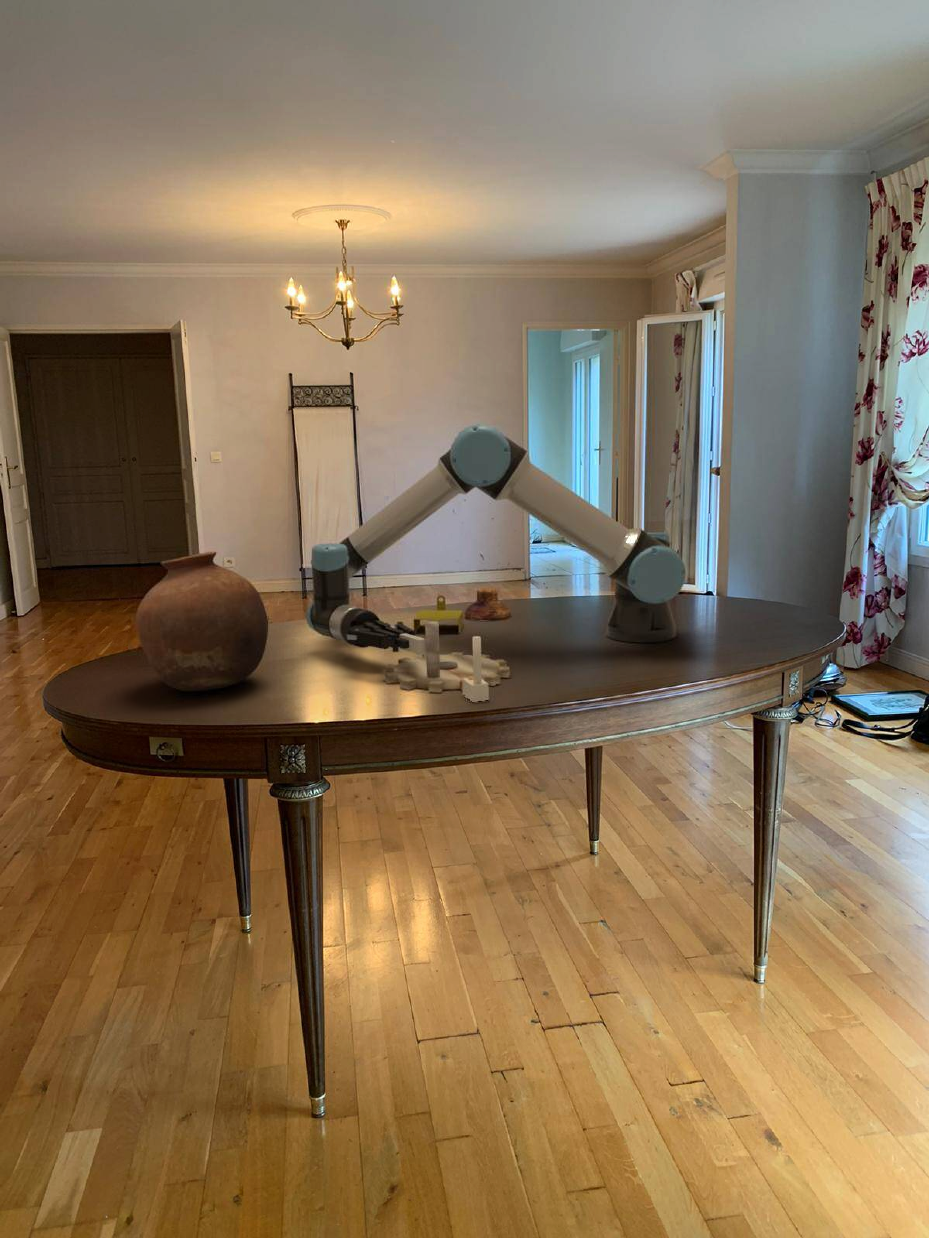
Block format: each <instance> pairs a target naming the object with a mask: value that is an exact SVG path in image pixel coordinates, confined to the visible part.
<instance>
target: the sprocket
mask: <svg viewBox="0 0 929 1238" xmlns="http://www.w3.org/2000/svg"><path fill="white" fill-rule="evenodd" d="M439 623H440V622H439ZM439 623H438V622H430V621H426V622H424V624H425V625H424V627H425V629H424V631H425V633H424V634H425V645H426V654H422V656H420V657H415V658H411V657H402V658H399V659H397V661H398V662H397V664H387V665H386V666H385V667H384V669H385V673H384V674H385V676H384V677H385V682H386V683H388V684H395V683H399V689H402V690H403V689H404V690H407V691H410V690H412V689H417V688H418V689H424V690H426V689H427V690H428V693H442V692H443V690H461V691H462V692H463V686H462V678H468V677H469V676H473V654H472V655H471V654H464V652H463V651H462V652H461V651H457V652H455V651H454V652H453V651H452V652H451V653H450V654H449V653H448V654H440V633H439V632H440V629H439V628H440V626H439V625H440V624H439ZM507 663H508V662H507V661H506V660H504V659H503V658H501V659H491V655H489V654H482V653H481V674H482V679H483V680H484V681H485V682H487V683H488V686H490V687H491V686H492V687H493V686H496V684H497V685H499V684H501V679H502V678H504V679H505V678H507V679H508V678H509V677H510V675H511V672H510V671H511V670H510V668H511V666H508V665H507Z"/></svg>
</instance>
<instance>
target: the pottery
mask: <svg viewBox="0 0 929 1238" xmlns="http://www.w3.org/2000/svg"><path fill="white" fill-rule="evenodd" d="M216 555H217V551H215V550H214V551H207V552H203V553H202V552H201V553H195V554H192V555H187V556H183V557H177V558H175V559H169V560H163V561H161V562H160V564H161V565H162V567H163V568H165V569H166V570H167V574H166V575H165V576H164V577H163V578H162V579H161V580H160V581H159V582H157V583H156V584H155V585H154V586H153V587H152V588H150V590H149V591H148V592H147V593H146V594H145V596H144V597H143V599H142V600H141V602H140V603H139V606H138V608H137V611H136V614H135V624H136V631H137V635H138V639H139V642H140V644H141V646H142V650H143V652H144V654H145V656H146V659H147V660H148V662H149V664H150V666H151V668H152V669H153V670H154V672H155V673H156V675H157V676H158V677H159V678H160V680H161V681H162V682H164V683H165V684H166V685H168V686H169V687H171V688H173V689H174V690H175V689H176V690H178V691H183V692H203V691H210V690H217V689H223V688H226V687H230V686H233V685H236V684H237V683H240V682H241V681H243V680H245V679H247V678H248V677H249V676H250V675H252V674H253V673H254V672H255V671H256V669H257V668H258V666H259V665H260V664H261V661H262V660H263V656H264V654H265V650H266V645H267V640H268V634H269V618H268V615H267V611H266V607H265V604H264V602H263V600H262V598H261V595H260V593H259V591H258V590H257V589H256V588H255V586H254V585H253V584H252V583H251V582H250V581H249V579H247V578H245V577H243V576H242V575H240V574H239V573H238V572H236V571H233V570H231V569H229V568H227V567H223V566H221V565H218V564H216V563H215V561H214V558H215V557H216ZM257 591H258V592H257Z"/></svg>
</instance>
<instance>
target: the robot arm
mask: <svg viewBox="0 0 929 1238" xmlns="http://www.w3.org/2000/svg"><path fill="white" fill-rule="evenodd" d="M450 446H451V447H450V449H449V450H447V452H445V453H444V454H443V455H442V456H441V457H440V456H439V458H438V461H437V466H436V467H434V468H433V469H431V470H430V471H429V472H428V473H426V474H425V475H424V476H423V477H421V478H420V479H419V480H417V482H415V483H413V484H412V485H411V486H410V487H408V489H406V490H405V491H404V492H402V493H401V494H400V495H398V496H397V497H396V498H395V499H393V500H392V501H391V502H390V503H388V504H387V505H386V506H384V507H383V508H382V509H381V510H380V511H378V512H377V513H376V514H375V515H373V516H372V517H371V518H370V519H368V520H367V521H366V522H363V524H362V525H360V526H359V527H358V528H357V529H356V530H354V531H352V533H351V534H349V535H348V536H347V537H346V538H344V539H343V540H342V541H341V542H339V543H337V542H336V543H332V542H330V543H329V542H328V543H320V544H315V545H313V547H312V548H311V560H310V565H311V577H312V591H313V592H312V593H313V595H312V597H313V598H312V602H311V603H310V604H309V605H308V607H307V610H306V613H305V621H306V623H307V624H308V627H309V628H311V630H313V631H314V632H316V633H318V634H320V635H321V636H323V637H324V636H325V637H329V638H331V639H336V640H338V641H340V642H343V643H346V645H348V646H351V645H352V646H355V647H358V648H360V649H361V648H369V647H371V648H376V649H382V650H388V649H389V648H392V653H399V652H400V651H399V650H400V649H401V650H403V651H406V652H409V653H411V654H412V653H413V654H415V655H419V656H421V655H422V656H423V654H426V638H423V637H419V636H416V633H415V631H414V629H412V628H410V627H409V626H407V625H405V624H404V622H402V621H397V622H396V623H394V624H393V625H391V624H390V623H388V622H384V621H383V620H381V619H380V618H379V617H378V614H376V613H375V612H373V611H372V610H369V609H368V610H367V609H365V608H361V607H358V606H354V605H351V604H350V603H351V601H350V600H351V599H350V579H351V578H352V577H354V576H356V574H358V572H360V571H361V570H363V569H364V568H365V567H366V566H368V565H369V564H370V563H371V562H372V561H374V560H375V559H376V558H378V557H379V556H381V554H383V553H384V552H385V551H386V550H387V551H388V549H389V548H391V547H392V546H394V545H395V544H396V543H397V542H399V541H400V540H401V539H402V538H404V537H405V536H406V535H407V534H409V533H410V532H411V531H413V530H414V529H415V528H416V527H418V526H419V525H421V524H422V523H423V522H425V520H427V519H428V518H429V517H431V516H432V515H433V514H434V513H436V512H437V511H439V510H440V509H441V508H443V506H445V505H446V504H447V503H449V502H450V501H451V500H453V499H454V498H456V497H457V496H458V495H467V494H468V493H469V492H471V491H472V490H474V489H475V488H476V489H478V490H479V491H481V492H482V493H484V494H485V495H486V496H488V497H490V498H491V499H493V500H495V501H501V500H508V501H509V502H511V503H512V504H514V505H515V506H516V507H518V508H520V509H521V510H522V511H524V512H525V513H527V514H529V515H530V516H532V518H534V519H536V520H538V521H539V522H540V523H542V524H543V525H545V526H547V527H548V528H550V529H551V530H552V531H554V532H555V533H557V534H558V535H559V536H562V538H564V539H566V540H567V541H569V542H570V543H572V544H573V545H575V546H576V547H577V548H579V549H581V550H582V551H583V552H585V553H586V554H588V556H591V557H592V558H594V559H596V560H597V561H598V562H600V563H601V564H603V567H604V572H605V575H606V576H607V577H609V579H611V580H613V581H614V602H613V605H612V608H611V611H610V615H609V617H608V619H607V620H608V621H607V623H606V636H607V638H609V639H612V640H616V641H620V642H621V641H622V642H628V643H660V642H666V641H670V640H673V639H674V638H675V637H676V631H677V630H676V623H675V620H674V617H673V613H672V611H671V607H670V604H669V601H670V600H672V599H674V597H676V596H677V595H678V594H679V593H680V591H681V590H682V589H683V586H684V584H685V581H686V576H687V575H686V574H687V573H686V572H687V571H686V566H685V565H686V564H685V563H684V561H683V558H682V557H681V554H679V553H678V552H677V551H676V550H675V549H674V548H672V547H671V541H670V535H669V534H668V533H667V532H646V531H645V530H644V529H642V528H640V527H634V528H627V527H626V526H624V525H623V524H621V523H619V522H618V521H616V520H615V519H613V518H612V517H611V516H609V515H608V514H606V513H605V512H603V511H602V510H600V509H599V508H598V507H596V506H595V505H593V504H591V503H590V502H589V501H587V500H586V499H584V498H583V497H581V496H580V495H579V494H577V493H576V492H574V491H572V490H571V489H570V488H568V487H567V486H565V485H563V484H562V483H561V482H559V481H558V480H557V479H555V478H554V477H552V476H551V475H549V474H547V473H546V472H544V471H543V470H542V469H541V468H539V467H537V466H536V465H534V464H533V463H532V462H531V460H530V455H529V451H527V450H526V449H525V448H523V447H521V446H520V445H519V444H517V443H516V442H514V441H512V440H511V439H510V438H508V437H507V436H505V435H504V434H503V432H502V431H500V430H499V429H497V428H496V427H494V426H491V425H489V424H482V423H481V424H480V423H478V424H472V425H469V426H468V427H467V426H466V427H465V428H464V429H463V430H461V431H460V432H459V433H458V434H457V436H456V437H455V438H454V440H453V441H452V444H451V445H450Z"/></svg>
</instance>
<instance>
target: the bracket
mask: <svg viewBox="0 0 929 1238" xmlns="http://www.w3.org/2000/svg"><path fill="white" fill-rule="evenodd" d="M440 598H441V599H442V601H440ZM463 613H464V611H463V610H454V609H453V610H447V609H446V597H445V596H444V595H441V594H439V595H438V596H437V597H436V610H419V611H418V613H416V615H415V617H414V618H413V630H414V631H415V632H416V633H417V631H418V630H417V629H419V628H420V627H419V626H421V620H429V622H438V623H440V621H441V620H457V621H458V623H457V624H458V634H460V633H461V631H462V629H461V628H463V625H464V618H463V617H464V615H463ZM418 627H419V628H418ZM416 630H417V631H416ZM460 630H461V631H460Z"/></svg>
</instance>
